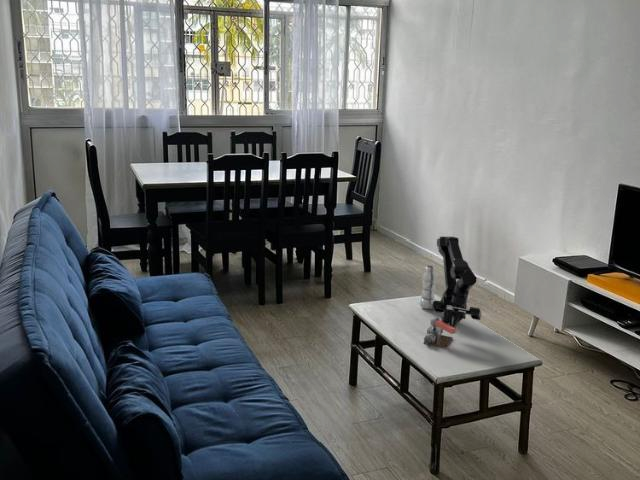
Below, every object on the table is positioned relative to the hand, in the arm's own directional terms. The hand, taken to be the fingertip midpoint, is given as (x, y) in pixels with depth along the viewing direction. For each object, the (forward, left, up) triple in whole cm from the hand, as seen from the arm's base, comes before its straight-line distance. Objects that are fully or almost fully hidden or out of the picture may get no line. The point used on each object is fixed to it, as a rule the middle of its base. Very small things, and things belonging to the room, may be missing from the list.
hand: (451, 329), depth 243 cm
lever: (-2, -3, -1) cm, 4 cm away
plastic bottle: (-41, -7, -8) cm, 42 cm away
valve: (-5, -4, -8) cm, 10 cm away
